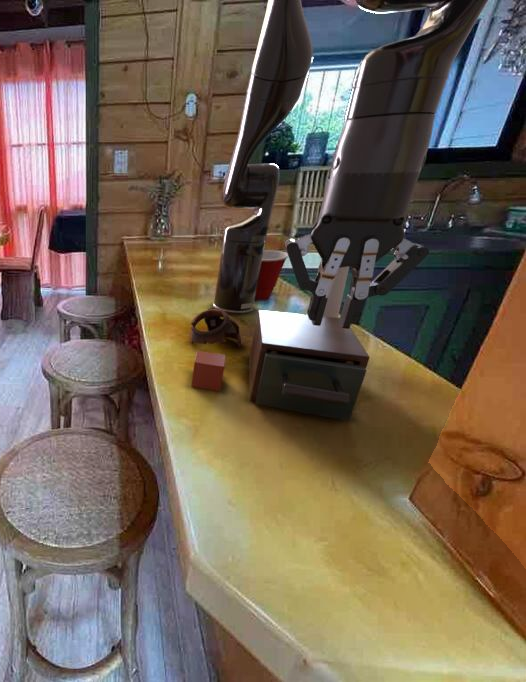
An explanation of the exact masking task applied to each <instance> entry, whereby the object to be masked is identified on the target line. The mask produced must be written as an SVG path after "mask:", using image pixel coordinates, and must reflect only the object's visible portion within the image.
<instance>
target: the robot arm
mask: <svg viewBox="0 0 526 682" xmlns="http://www.w3.org/2000/svg"><path fill="white" fill-rule="evenodd" d="M488 2H489V0H355V3H356V5H357V6H358V7H359V8H360V9H361V10H364V11H366V12H370V13H373V14H374V13H375V14H390V13H401V12H410V11H422V10H428V14H427V17H426V20H425V21H424V22H423V24H422V26H421V27H420V29H419V31H418V32H417V33H416V34H415V35H414V36H411V37H407V38H403V39H400V40H396V41H393V42H390V43H389V42H388V43H386V44H384V45H381V46H379V47H376V48H375V49H373V50H371V51H370V52H368V53H367V54H366V55H365V56H364V58H363V59H362V60H361V62H360V63H359V66H358V68H357V71H356V75H355V79H354V82H353V87H352V91H351V94H350V99H349V103H348V107H347V111H346V115H345V120H344V123H343V126H342V130H341V133H340V135H339V137H338V140H337V142H336V146H335V149H334V152H333V157H332V161H331V165H330V168H329V169H330V170H329V174H328V178H327V182H326V185H325V189H324V195H323V197H322V198H323V199H322V202H321V207H320V211H319V215H318V217H317V221H316V223H315V224H314V225H313V227H312V228H311V229H310V231H309V233H307V234H305V235H302V236H300V237H297V238H288V239H286V240H285V242H284V247H285V248H284V249H285V250H286V253H287V254H288V259H289V262H290V265H291V268H292V271H293V275H294V276H295V280H296V282H297V284H298V287H299V289H300V290H303V291H308V292H310V293H311V296H310V299H309V303H308V306H307V310H306V315H308V317H309V320H311V321H312V324H313V325H317V326H320V325H321V322H322V318H323V315H324V311H325V307H326V304H327V300H328V297H327V295H326V294H327V292H328V290H329V287H330V285H331V282H332V280H333V278H335V276H336V274H337V271H338V269H339V268H341V267H349V268H351V280H350V287H349V291H350V292H349V293H348V294H346V295H345V300H344V303H343V306H342V309H341V312H340V316H339V318H340V319H339V325H340V326H341V328H345V329H349V328H351V327H352V326H353V325H354V326H355V325H356V324H357V323H358V322H359V319H360V316H361V314H362V311H363V310H362V309H363V307H364V303H365V301H366V300H367V299H368V298H371V297H376V296H381V297H382V296H383V297H384V296H387V295H388V294H389V293H390V292H392V291H393V289H394V288H395V287H397V285H399V284H400V283H401V281H402V280H404V279H405V278H406V276H408V275H409V274H410V273H412V271H413V270H414V269H415V268H417V266H418V265H419V264H420V263H421V262H422V261H423V260H425V259H426V258H427V257H428V255H429V254H430V250H429V248H427V247H426V246H423V245H421V244H419V243H417V242H413V241H410V240H409V239H407V238H405V235H406V233H405V229H404V220H405V218H406V216H407V213H408V210H409V207H410V205H411V200H412V198H413V195H414V192H415V189H416V187H417V183H418V180H419V177H420V175H421V171H422V168H423V167H424V165H425V164H426V161H427V154H428V153H427V152H428V150H429V147H430V144H431V141H432V135H433V128H434V122H435V119H436V114H437V112H438V109H439V106H440V103H441V99H442V97H443V93H444V90H445V87H446V85H447V81H448V79H449V75H450V72H451V69H452V66H453V64H454V62H455V59H456V58H457V57H458V54H459V52H460V50H461V49H462V47H463V45H464V44H465V42H466V40H467V38H468V36H469V34H471V32H472V30H473V28H474V26H475V24H476V23H477V21H478V19H479V17H480V15H481V13H482V12H483V10H484V9H485V7H486V5H487V3H488ZM265 10H266V11H265V15H264V19H263V22H262V27H261V31H260V35H259V39H258V43H257V47H256V51H255V55H254V59H253V63H252V65H251V71H250V74H249V78H248V82H247V83H248V84H247V88H246V93H245V97H244V103H243V107H242V112H241V118H240V123H239V128H238V132H237V136H236V139H235V143H234V147H233V150H232V154H231V157H230V161H229V163H228V167H227V169H226V170H227V171H226V175H225V178H224V181H223V186H222V194H221V201H222V204H223V206H224V207H225V208H226V209H227V208H228V209H232V210H234V209H235V210H247V209H249V210H251V209H252V210H253V212H252V213H251V214H250V215H249V216H247V217H246V218H243V219H242V220H240V221H237V222H233V223H230V224H228V225H226V226H225V227H224V230H223V237H222V244H221V252H220V257H219V263H218V264H219V265H218V272H217V277H216V285H215V292H214V299H213V300H214V301H213V303H212V307H214V308H216V309H220V310H223V311H225V312H226V313H227V314H230V315H231V314H232V315H246V314H250V313H252V312H253V311H254V303H255V294H256V289H257V284H258V278H259V273H260V268H261V262H262V257H263V251H264V250H265V247H266V246H265V245H266V240H267V235H268V231H269V227H270V223H271V218H272V214H273V208H274V204H275V202H276V197H277V194H278V189H279V185H280V168H279V166H278V165H277V164H275V163H250V161H251V160H252V158H253V156H254V155H255V153H256V151H257V150H258V149H259V147H260V145H262V143H264V141H265V140H266V139H267V138H268V137H269V136H270V135H271V134H272V132H274V131H275V130H276V128H278V127H279V126H280V125H281V124H282V123H283V122H284V120H286V118H287V117H288V116H289V115H290V114H291V113H292V112H293V110H294V109H295V108H296V106H297V104H298V103H299V101H300V98H301V96H302V93H303V90H304V87H305V85H306V81H307V78H308V75H309V72H310V70H311V66H312V63H313V59H314V49H313V43H312V39H311V34H310V30H309V27H308V24H307V19H306V17H305V13H304V8H303V5H302V0H267V5H266V9H265ZM311 244H312V245H313V246H314V248H315V250H316V251H317V254H318V255H319V257H320V259H321V260H320V262H319V265H318V268H317V272H316V275H315V278H312V277H310V276H309V273H308V270H307V267H306V264H305V261H304V256H306V255H307V254H308V253H309V246H310V245H311ZM394 249H395V251H394V252H393V253H392V255H393V256H392V257H393V260H392V261H391V262H390V263H389V264H388V265H387V266H386V267H385V268H384V269H383V270H382V271H381V272H380V273H378V275H377V276H376V277H375V278H374V279H373V277H374V272H375V271H374V270H375V265H376V264H377V263H378V262H379V261H381V259H383V258H384V257H385V256H386V255H388V254H389V253H390V252H391V251H392V250H394Z"/></svg>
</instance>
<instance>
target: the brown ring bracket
mask: <svg viewBox="0 0 526 682" xmlns="http://www.w3.org/2000/svg"><path fill="white" fill-rule="evenodd" d="M202 320H203V321H204V323H205V325H206V329H207V331H202V330H199V329H197V328H196V326H197V324H199V322H201V321H202ZM190 325H191V326H192V327H191V329H190V334H189V339H190V343H191V344H192V345H193V344H201V345H207V344H215V343H218V342H220V343H222V344H226V338H230V339H233V340H235V341H236V342H237V345H238V348H241V347H242V336H241V333H240V325H239V324H238V322H237V320H236V319H235V318H234V317H232V316H231V315H229V313H226V312H225V311H223V310H220V309H216V308H214V307H213V306H211V307H209V308H208V309H206V310H204V311H202V312H199V313H198V314H197V315H196V316H195V317H194V318H192V320H191V323H190Z"/></svg>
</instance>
